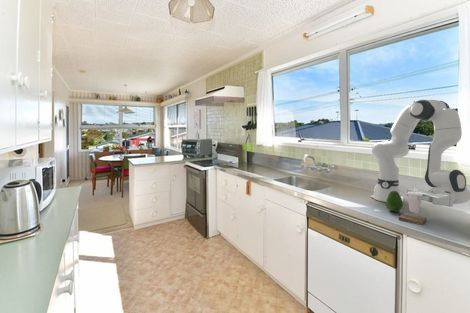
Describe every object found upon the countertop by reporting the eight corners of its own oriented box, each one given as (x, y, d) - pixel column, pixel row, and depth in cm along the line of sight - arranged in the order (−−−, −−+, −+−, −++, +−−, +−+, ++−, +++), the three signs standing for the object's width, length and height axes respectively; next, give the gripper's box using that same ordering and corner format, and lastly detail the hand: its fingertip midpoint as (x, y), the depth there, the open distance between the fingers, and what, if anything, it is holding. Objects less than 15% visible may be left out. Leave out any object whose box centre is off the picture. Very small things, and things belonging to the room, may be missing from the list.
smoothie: (406, 208, 134) (408, 182, 132) (421, 211, 130) (423, 184, 128) (405, 211, 129) (407, 184, 127) (421, 214, 125) (423, 186, 123)
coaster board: (403, 215, 137) (403, 212, 137) (425, 220, 130) (426, 217, 130) (398, 219, 130) (398, 216, 130) (422, 225, 123) (422, 222, 123)
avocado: (388, 208, 149) (389, 188, 148) (403, 211, 143) (405, 191, 142) (383, 211, 143) (385, 190, 142) (399, 214, 138) (401, 193, 137)
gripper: (421, 185, 140) (398, 186, 138) (457, 194, 120) (430, 195, 118) (420, 196, 141) (397, 197, 139) (455, 207, 120) (429, 208, 119)
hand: (413, 196), depth 128 cm, fingers closed on smoothie, 6 cm apart
